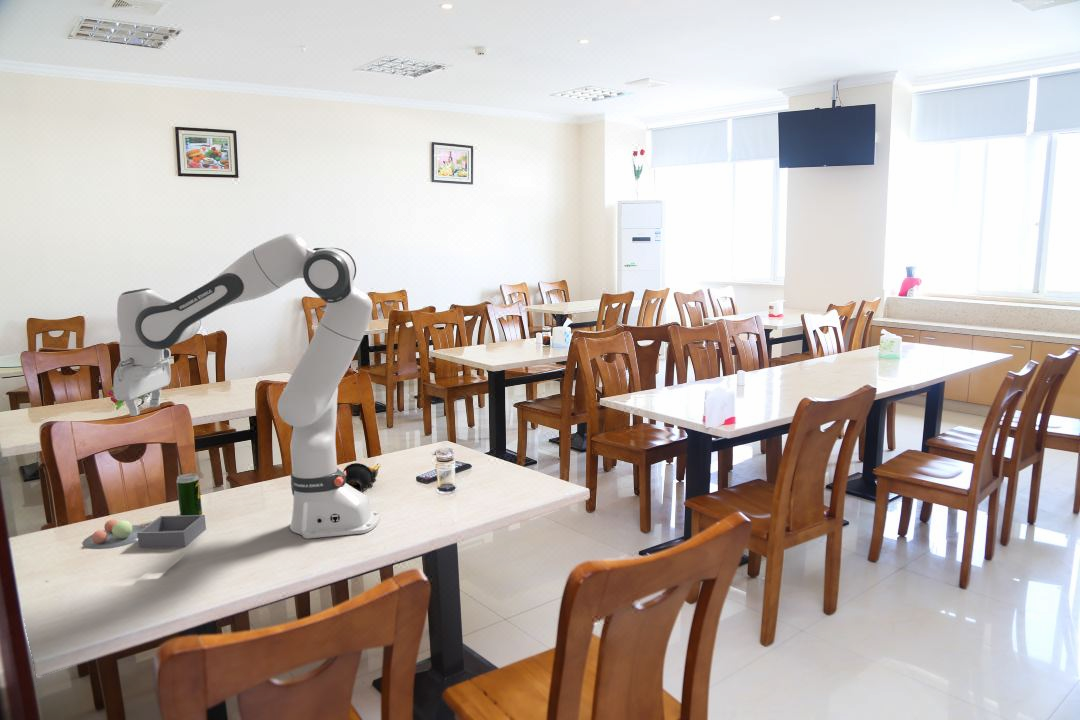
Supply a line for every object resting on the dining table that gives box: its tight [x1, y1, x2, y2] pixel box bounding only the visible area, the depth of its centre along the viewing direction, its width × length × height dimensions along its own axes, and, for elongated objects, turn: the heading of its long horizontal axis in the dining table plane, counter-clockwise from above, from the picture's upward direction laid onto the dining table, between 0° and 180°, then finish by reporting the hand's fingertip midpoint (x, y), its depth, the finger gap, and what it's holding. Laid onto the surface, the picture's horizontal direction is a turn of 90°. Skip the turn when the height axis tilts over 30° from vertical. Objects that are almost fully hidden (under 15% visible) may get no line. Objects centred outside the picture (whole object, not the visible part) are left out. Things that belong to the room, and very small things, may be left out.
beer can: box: [176, 473, 203, 516], centre depth 201 cm, size 5×5×12 cm
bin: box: [137, 514, 207, 549], centre depth 186 cm, size 11×11×5 cm
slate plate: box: [82, 524, 147, 550], centre depth 189 cm, size 15×15×1 cm
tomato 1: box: [91, 529, 107, 544], centre depth 184 cm, size 3×3×3 cm
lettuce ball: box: [112, 520, 133, 539], centre depth 187 cm, size 4×4×4 cm
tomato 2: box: [103, 519, 118, 533], centre depth 191 cm, size 3×3×3 cm
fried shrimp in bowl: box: [342, 462, 381, 492], centre depth 226 cm, size 9×11×18 cm
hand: (145, 410), depth 186 cm, fingers open, 8 cm apart
